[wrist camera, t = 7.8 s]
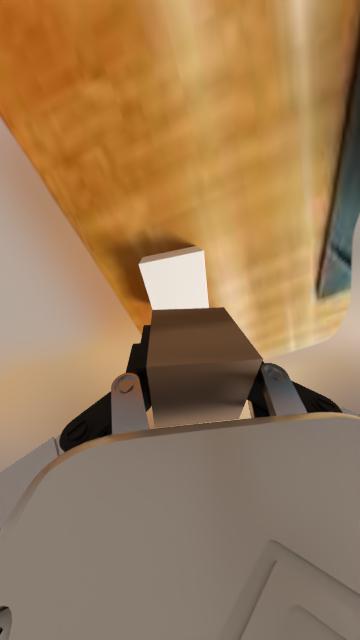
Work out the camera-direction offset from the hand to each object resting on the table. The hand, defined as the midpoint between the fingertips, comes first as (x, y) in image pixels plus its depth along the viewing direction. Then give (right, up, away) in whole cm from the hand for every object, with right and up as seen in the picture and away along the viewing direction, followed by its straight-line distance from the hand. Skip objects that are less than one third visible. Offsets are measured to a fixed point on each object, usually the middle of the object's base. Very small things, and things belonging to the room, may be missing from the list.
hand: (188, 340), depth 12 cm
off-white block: (-2, +8, +13) cm, 16 cm away
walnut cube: (0, 0, 0) cm, 1 cm away
